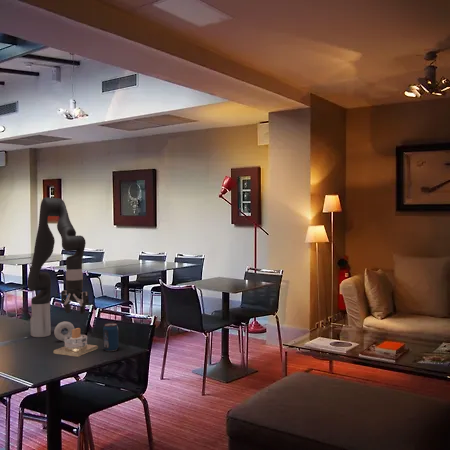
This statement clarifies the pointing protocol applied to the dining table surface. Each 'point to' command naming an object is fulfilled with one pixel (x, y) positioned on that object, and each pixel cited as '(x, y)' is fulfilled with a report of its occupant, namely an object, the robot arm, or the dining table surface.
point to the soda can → (110, 337)
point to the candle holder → (75, 347)
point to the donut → (60, 327)
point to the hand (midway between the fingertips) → (75, 313)
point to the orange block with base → (76, 334)
